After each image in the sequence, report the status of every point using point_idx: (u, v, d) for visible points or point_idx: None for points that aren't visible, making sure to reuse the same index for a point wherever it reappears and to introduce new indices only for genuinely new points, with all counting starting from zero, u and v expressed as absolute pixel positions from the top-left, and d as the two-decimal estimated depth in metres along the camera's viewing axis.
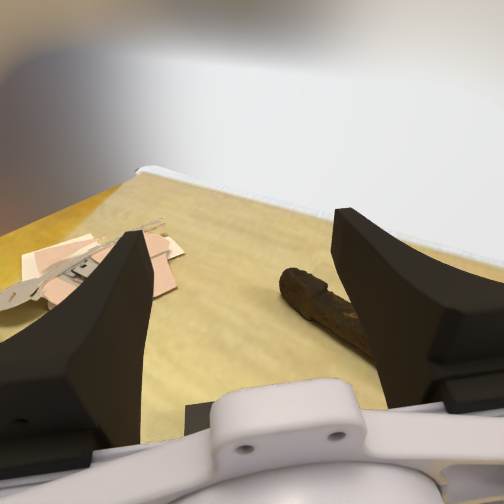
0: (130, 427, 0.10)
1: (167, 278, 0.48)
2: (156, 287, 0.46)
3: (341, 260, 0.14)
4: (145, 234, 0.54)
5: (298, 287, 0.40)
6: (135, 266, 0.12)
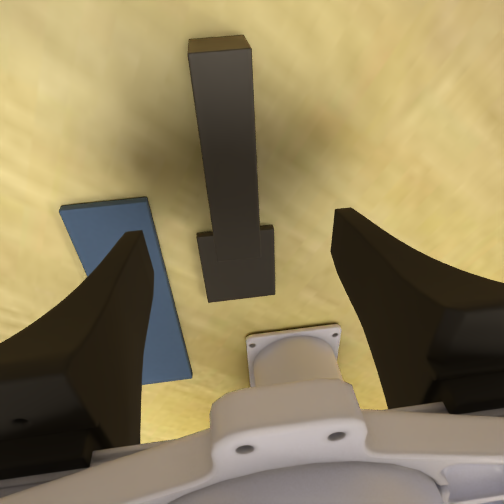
0: (130, 427, 0.10)
1: None
2: None
3: (341, 260, 0.14)
4: None
5: None
6: (135, 266, 0.12)
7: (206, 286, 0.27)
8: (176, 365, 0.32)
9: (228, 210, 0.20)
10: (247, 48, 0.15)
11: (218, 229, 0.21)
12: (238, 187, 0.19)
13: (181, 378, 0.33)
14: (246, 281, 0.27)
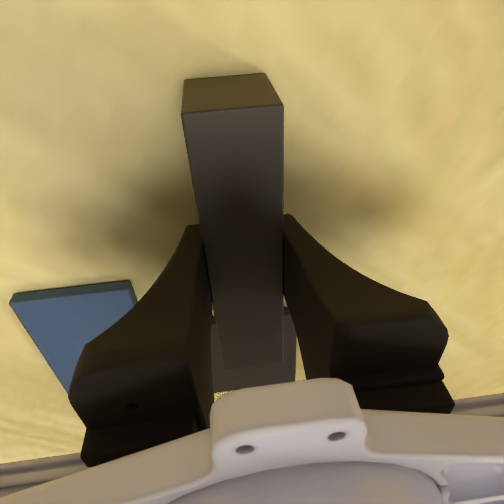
0: None
1: None
2: None
3: None
4: None
5: None
6: (204, 258, 0.12)
7: None
8: None
9: (240, 314, 0.14)
10: (277, 104, 0.10)
11: (226, 336, 0.15)
12: (255, 287, 0.13)
13: None
14: (259, 370, 0.21)
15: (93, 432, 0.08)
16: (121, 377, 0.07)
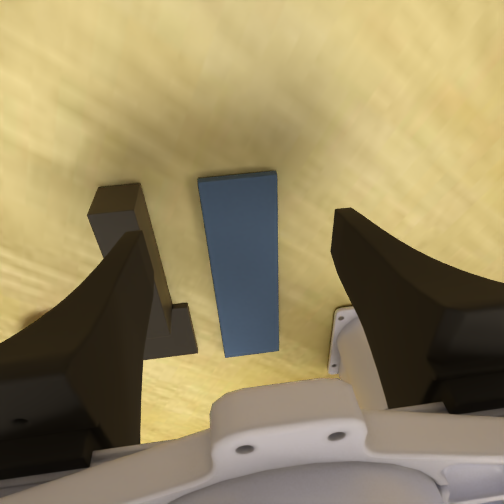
0: (130, 427, 0.10)
1: None
2: None
3: (341, 260, 0.14)
4: None
5: None
6: (135, 266, 0.12)
7: None
8: (267, 337, 0.33)
9: None
10: (131, 210, 0.21)
11: None
12: None
13: (269, 350, 0.35)
14: (171, 344, 0.33)
15: None
16: None
